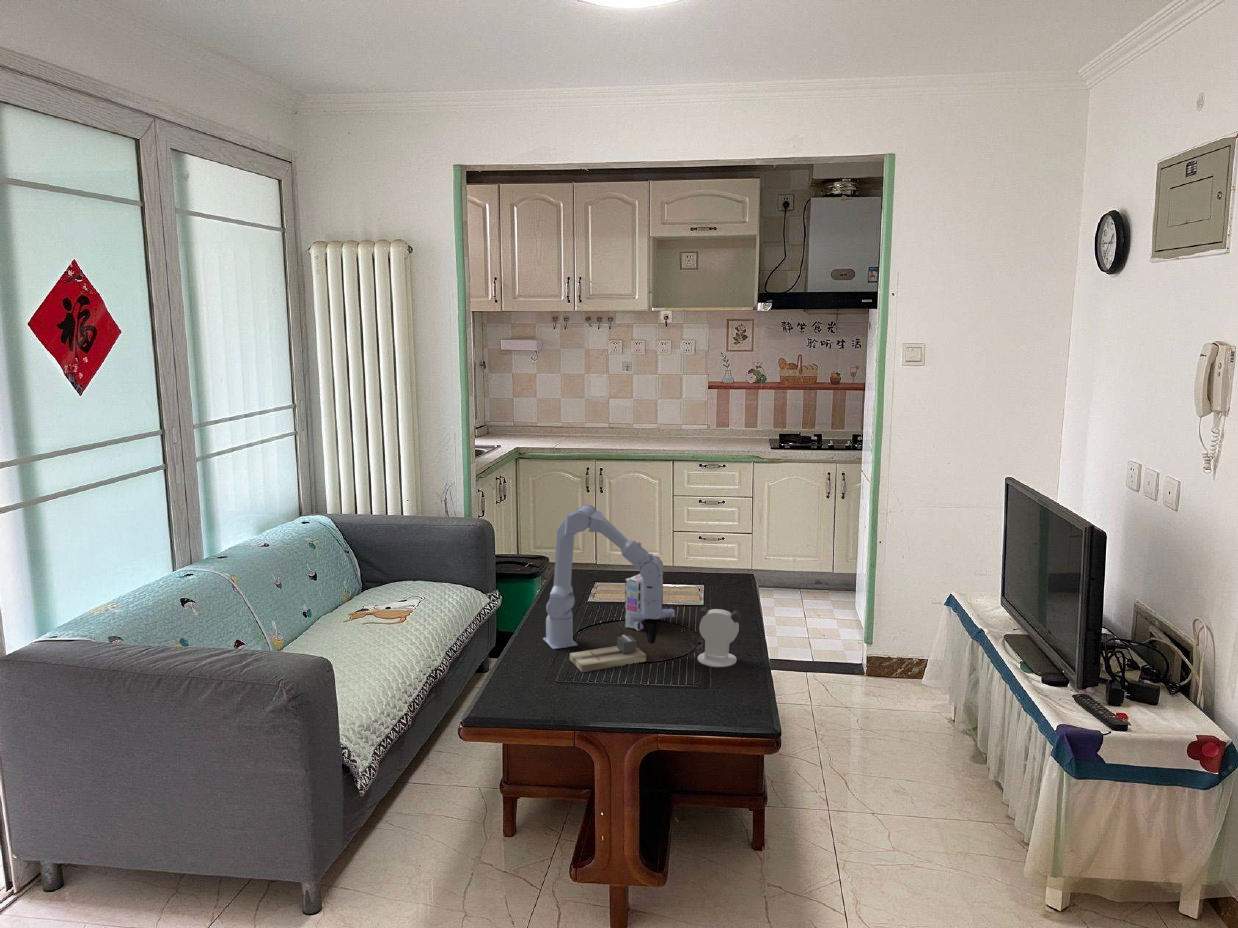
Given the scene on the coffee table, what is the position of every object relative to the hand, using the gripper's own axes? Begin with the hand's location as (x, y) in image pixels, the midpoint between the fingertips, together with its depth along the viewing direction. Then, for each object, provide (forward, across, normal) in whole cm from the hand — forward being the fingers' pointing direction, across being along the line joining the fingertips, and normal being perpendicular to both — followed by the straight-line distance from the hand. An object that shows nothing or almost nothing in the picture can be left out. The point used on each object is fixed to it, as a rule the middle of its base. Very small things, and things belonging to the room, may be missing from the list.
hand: (651, 642), depth 261 cm
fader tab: (+1, -8, 0) cm, 8 cm away
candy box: (+4, +9, +24) cm, 26 cm away
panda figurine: (+4, +16, -12) cm, 20 cm away
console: (+3, -14, 0) cm, 14 cm away
